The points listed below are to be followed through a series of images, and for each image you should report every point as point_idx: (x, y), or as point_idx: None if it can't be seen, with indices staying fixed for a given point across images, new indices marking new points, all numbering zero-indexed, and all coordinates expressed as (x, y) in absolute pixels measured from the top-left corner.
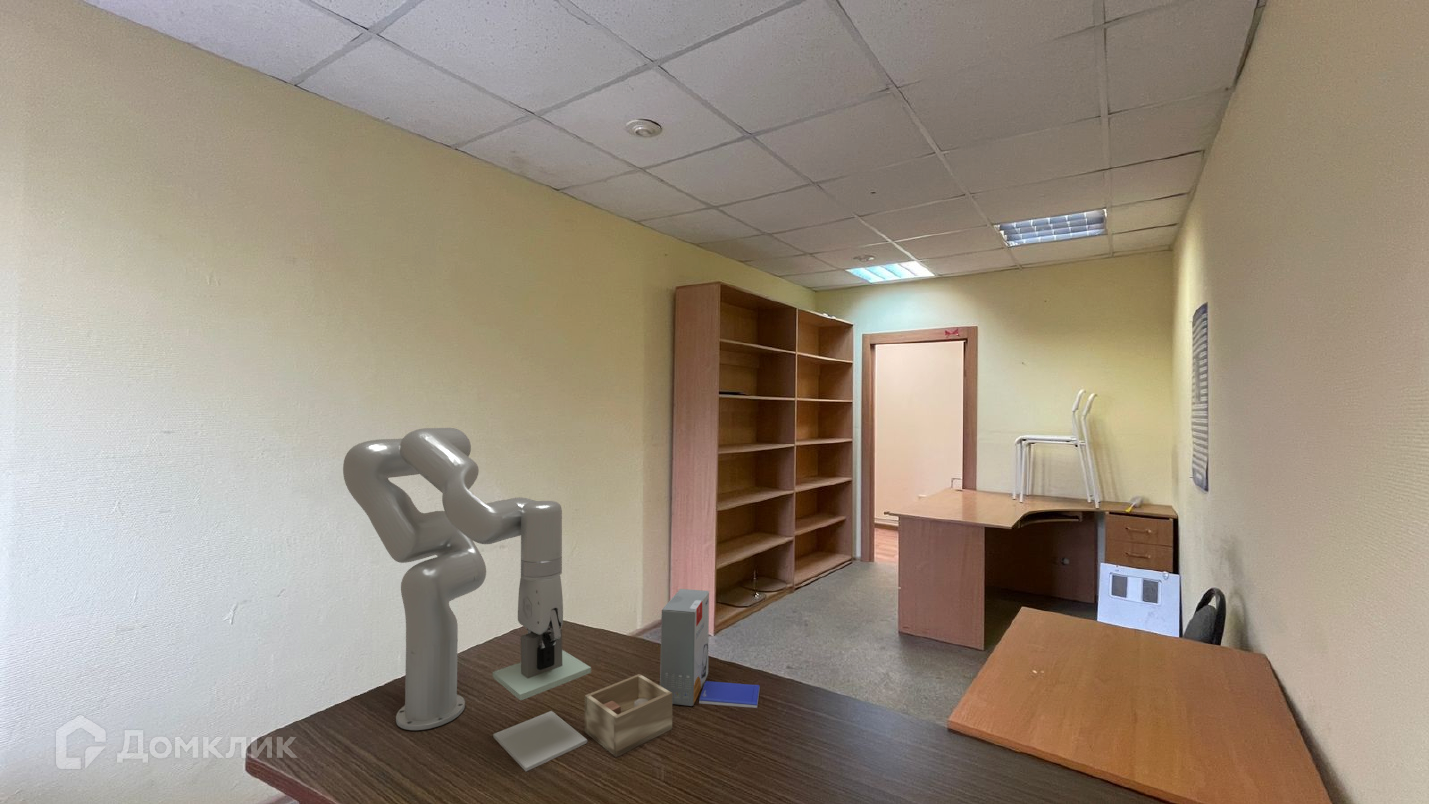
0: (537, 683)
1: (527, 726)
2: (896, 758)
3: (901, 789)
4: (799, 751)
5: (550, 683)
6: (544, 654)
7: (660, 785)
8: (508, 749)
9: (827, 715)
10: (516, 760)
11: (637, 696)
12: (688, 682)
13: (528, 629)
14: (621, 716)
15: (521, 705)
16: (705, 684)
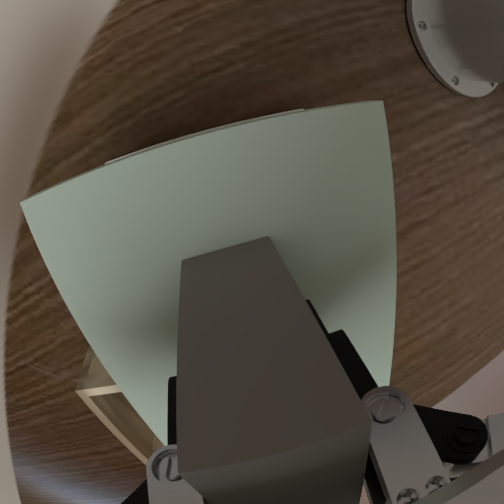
0: (102, 295)
1: None
2: (53, 489)
3: (17, 471)
4: (69, 467)
5: (89, 340)
6: (169, 424)
7: (18, 358)
8: (206, 131)
9: None
10: (156, 144)
11: None
12: None
13: (425, 458)
14: (82, 398)
15: (399, 201)
16: None
